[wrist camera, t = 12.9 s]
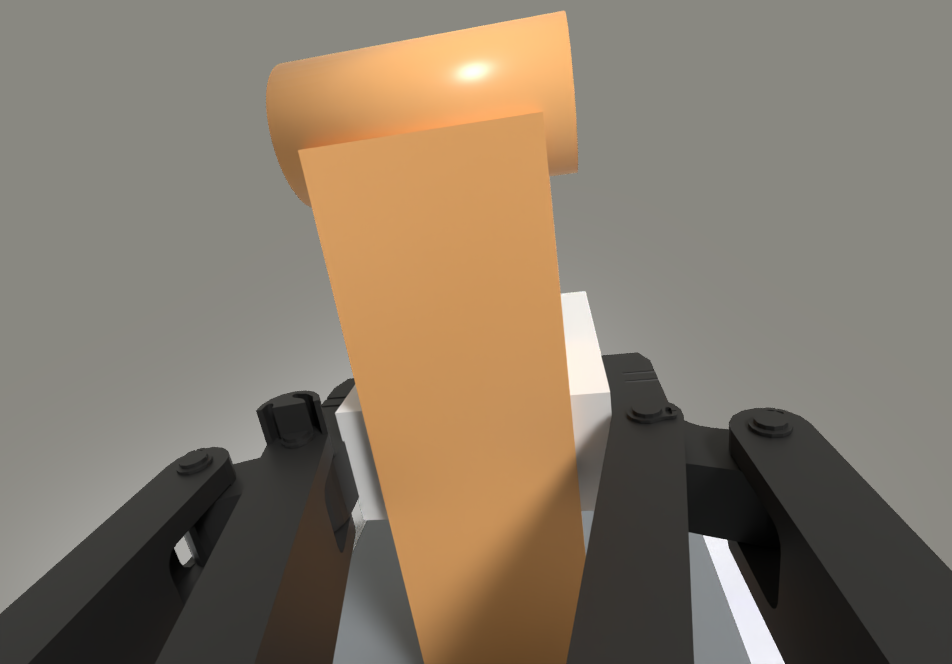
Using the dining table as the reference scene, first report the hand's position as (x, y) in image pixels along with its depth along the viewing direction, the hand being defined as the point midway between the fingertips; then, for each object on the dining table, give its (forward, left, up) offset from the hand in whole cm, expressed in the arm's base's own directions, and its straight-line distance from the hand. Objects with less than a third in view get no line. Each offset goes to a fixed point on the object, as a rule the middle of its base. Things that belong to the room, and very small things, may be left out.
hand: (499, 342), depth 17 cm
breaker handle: (0, -5, -6) cm, 8 cm away
